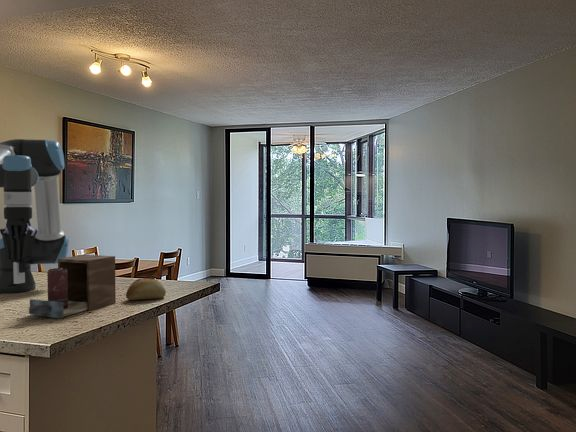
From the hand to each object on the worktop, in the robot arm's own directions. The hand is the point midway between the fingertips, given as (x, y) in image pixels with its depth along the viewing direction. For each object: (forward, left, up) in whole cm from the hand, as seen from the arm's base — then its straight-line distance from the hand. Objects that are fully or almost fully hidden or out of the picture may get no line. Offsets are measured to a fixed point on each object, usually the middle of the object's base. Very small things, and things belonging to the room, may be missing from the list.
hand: (19, 282), depth 145 cm
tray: (0, +14, -13) cm, 19 cm away
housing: (0, +28, -13) cm, 31 cm away
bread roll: (+13, +45, -13) cm, 48 cm away
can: (-1, +15, -12) cm, 20 cm away
